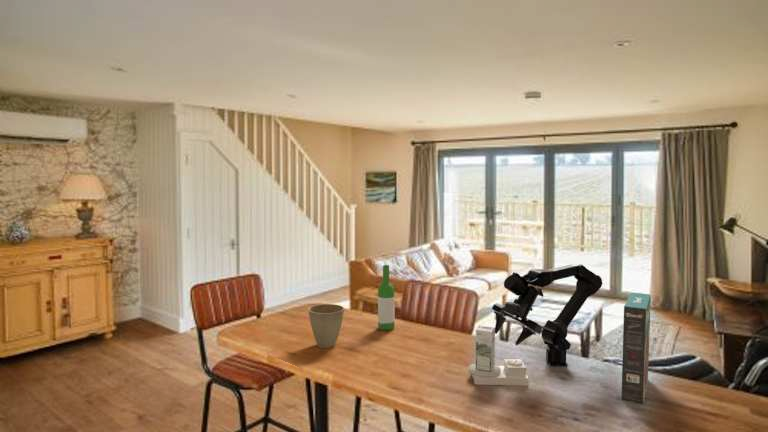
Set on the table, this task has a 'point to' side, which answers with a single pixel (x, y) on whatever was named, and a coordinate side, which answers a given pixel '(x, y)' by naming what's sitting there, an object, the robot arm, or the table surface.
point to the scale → (501, 374)
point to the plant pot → (326, 323)
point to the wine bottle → (386, 302)
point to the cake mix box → (635, 347)
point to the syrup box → (485, 348)
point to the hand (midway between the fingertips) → (505, 339)
